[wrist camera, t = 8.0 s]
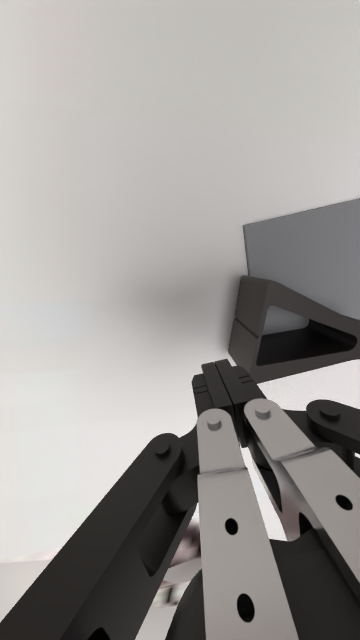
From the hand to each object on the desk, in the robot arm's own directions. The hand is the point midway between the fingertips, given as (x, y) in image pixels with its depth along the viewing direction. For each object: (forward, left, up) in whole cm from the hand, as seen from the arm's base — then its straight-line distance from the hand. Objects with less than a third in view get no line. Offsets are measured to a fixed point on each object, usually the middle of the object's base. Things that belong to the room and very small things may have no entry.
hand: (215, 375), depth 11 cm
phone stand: (-4, 0, -8) cm, 9 cm away
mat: (-14, 0, -11) cm, 18 cm away
